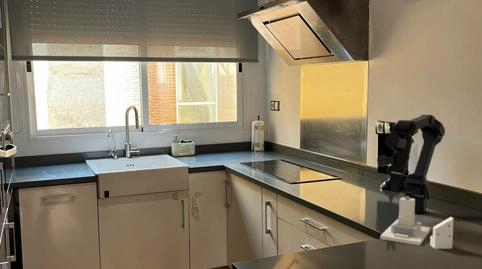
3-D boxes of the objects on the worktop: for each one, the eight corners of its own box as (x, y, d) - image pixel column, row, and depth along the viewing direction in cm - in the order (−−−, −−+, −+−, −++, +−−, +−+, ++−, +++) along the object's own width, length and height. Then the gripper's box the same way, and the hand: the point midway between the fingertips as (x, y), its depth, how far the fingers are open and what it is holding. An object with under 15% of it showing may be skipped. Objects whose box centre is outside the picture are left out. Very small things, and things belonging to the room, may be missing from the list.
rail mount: (393, 225, 182) (394, 214, 181) (430, 230, 175) (430, 220, 175) (380, 238, 167) (380, 227, 166) (419, 245, 160) (420, 233, 159)
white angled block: (465, 240, 157) (453, 218, 156) (438, 256, 157) (426, 234, 156) (460, 237, 161) (448, 215, 160) (434, 252, 161) (421, 230, 160)
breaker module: (401, 226, 174) (402, 194, 173) (414, 228, 172) (415, 196, 171) (397, 230, 170) (399, 197, 169) (411, 232, 168) (412, 199, 166)
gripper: (384, 150, 198) (376, 187, 198) (377, 145, 181) (368, 186, 181) (412, 155, 194) (404, 193, 193) (408, 151, 177) (399, 193, 176)
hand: (393, 191), depth 186 cm, fingers open, 9 cm apart
